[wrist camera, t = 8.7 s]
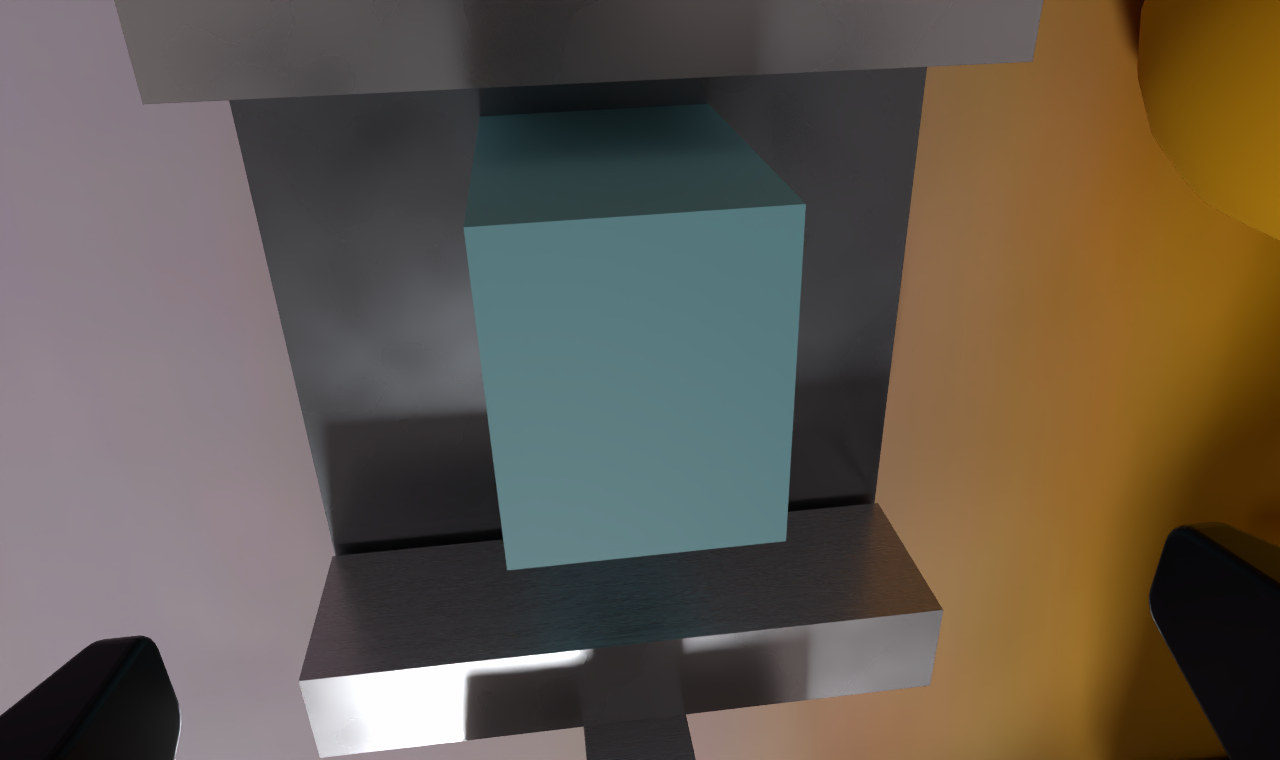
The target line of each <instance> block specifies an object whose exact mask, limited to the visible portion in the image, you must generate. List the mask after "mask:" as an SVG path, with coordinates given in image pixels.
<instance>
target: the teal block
mask: <svg viewBox="0 0 1280 760" xmlns="http://www.w3.org/2000/svg"><path fill="white" fill-rule="evenodd" d="M805 210H806V204H805V203H804V202H803V201H802V200H801V199H800V197H799V196H798V195H797V194H796V193H795V192H794V191H793V190H792V189H791V188H790V187H789V186H788V185H787V184H786V183H785V182H784V181H783V180H782V179H781V178H780V177H779V176H778V175H777V174H776V173H775V172H774V171H773V170H772V169H771V168H770V167H769V166H768V165H767V163H766V162H765V161H764V160H763V159H762V158H761V157H760V156H759V155H758V154H757V153H756V152H755V151H754V150H753V149H752V148H751V147H750V146H749V145H748V144H747V143H746V142H745V141H744V140H743V139H742V138H741V137H740V136H739V135H738V134H737V133H736V132H735V131H734V130H733V128H732V127H731V126H730V125H729V124H728V123H727V122H726V121H725V120H724V119H723V118H722V117H721V116H720V115H719V114H718V113H717V112H716V111H715V110H714V109H713V108H712V107H711V106H710V105H709V104H693V105H676V106H658V107H640V108H623V109H605V110H587V111H570V112H552V113H534V114H517V115H499V116H481V117H479V124H478V131H477V138H476V145H475V152H474V159H473V166H472V173H471V179H470V186H469V193H468V200H467V207H466V214H465V221H464V235H465V243H466V251H467V259H468V266H469V274H470V282H471V290H472V298H473V306H474V314H475V321H476V329H477V337H478V345H479V353H480V361H481V369H482V376H483V384H484V392H485V400H486V408H487V416H488V424H489V431H490V439H491V447H492V455H493V463H494V471H495V478H496V486H497V494H498V502H499V510H500V518H501V526H502V533H503V541H504V549H505V557H506V565H507V570H516V569H525V568H535V567H545V566H554V565H564V564H573V563H583V562H592V561H602V560H611V559H621V558H630V557H640V556H649V555H659V554H668V553H678V552H687V551H697V550H706V549H716V548H725V547H735V546H744V545H754V544H763V543H773V542H782V541H786V533H787V516H788V499H789V482H790V465H791V448H792V431H793V414H794V397H795V380H796V363H797V346H798V329H799V312H800V295H801V278H802V261H803V244H804V227H805Z"/></svg>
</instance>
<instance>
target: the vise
mask: <svg viewBox="0 0 1280 760" xmlns="http://www.w3.org/2000/svg"><path fill="white" fill-rule="evenodd" d="M114 2H115V5H116V9H117V13H118V16H119V20H120V23H121V27H122V31H123V34H124V38H125V41H126V45H127V49H128V52H129V56H130V59H131V63H132V67H133V70H134V74H135V77H136V81H137V85H138V88H139V92H140V95H141V99H142V103H143V104H159V103H180V102H201V101H222V100H229V101H230V105H231V110H232V114H233V118H234V123H235V127H236V131H237V135H238V140H239V144H240V148H241V153H242V157H243V161H244V165H245V170H246V174H247V178H248V183H249V187H250V191H251V195H252V200H253V204H254V208H255V213H256V217H257V221H258V225H259V230H260V234H261V238H262V243H263V247H264V251H265V255H266V260H267V264H268V268H269V273H270V277H271V281H272V286H273V290H274V294H275V298H276V303H277V307H278V311H279V316H280V320H281V324H282V328H283V333H284V337H285V341H286V346H287V350H288V354H289V358H290V363H291V367H292V371H293V376H294V380H295V384H296V388H297V393H298V397H299V401H300V406H301V410H302V414H303V418H304V423H305V427H306V431H307V436H308V440H309V444H310V448H311V453H312V457H313V461H314V466H315V470H316V474H317V478H318V483H319V487H320V491H321V496H322V500H323V504H324V509H325V513H326V517H327V521H328V526H329V530H330V534H331V539H332V543H333V547H334V551H335V556H340V555H350V554H360V553H371V552H381V551H391V550H401V549H412V548H422V547H432V546H442V545H453V544H463V543H473V542H483V541H494V540H503V533H502V526H501V518H500V510H499V502H498V494H497V486H496V478H495V471H494V463H493V455H492V447H491V439H490V431H489V424H488V416H487V408H486V400H485V392H484V384H483V376H482V369H481V361H480V353H479V345H478V337H477V329H476V321H475V314H474V306H473V298H472V290H471V282H470V274H469V266H468V259H467V251H466V243H465V235H464V221H465V214H466V207H467V200H468V193H469V186H470V179H471V173H472V166H473V159H474V152H475V145H476V138H477V131H478V124H479V117H481V116H499V115H517V114H534V113H552V112H570V111H587V110H605V109H623V108H640V107H658V106H676V105H693V104H709V105H710V106H711V107H712V108H713V109H714V110H715V111H716V112H717V113H718V114H719V115H720V116H721V117H722V118H723V119H724V120H725V121H726V122H727V123H728V124H729V125H730V126H731V127H732V128H733V130H734V131H735V132H736V133H737V134H738V135H739V136H740V137H741V138H742V139H743V140H744V141H745V142H746V143H747V144H748V145H749V146H750V147H751V148H752V149H753V150H754V151H755V152H756V153H757V154H758V155H759V156H760V157H761V158H762V159H763V160H764V161H765V162H766V163H767V165H768V166H769V167H770V168H771V169H772V170H773V171H774V172H775V173H776V174H777V175H778V176H779V177H780V178H781V179H782V180H783V181H784V182H785V183H786V184H787V185H788V186H789V187H790V188H791V189H792V190H793V191H794V192H795V193H796V194H797V195H798V196H799V197H800V199H801V200H802V201H803V202H804V203H805V204H806V210H805V227H804V244H803V261H802V278H801V295H800V312H799V329H798V346H797V363H796V380H795V397H794V414H793V431H792V448H791V465H790V482H789V499H788V512H791V511H802V510H812V509H822V508H832V507H843V506H853V505H863V504H874V501H875V493H876V485H877V476H878V468H879V460H880V451H881V443H882V435H883V427H884V418H885V410H886V402H887V393H888V385H889V377H890V368H891V360H892V352H893V344H894V335H895V327H896V319H897V310H898V302H899V294H900V286H901V277H902V269H903V261H904V252H905V244H906V236H907V228H908V219H909V211H910V203H911V194H912V186H913V178H914V169H915V161H916V153H917V145H918V136H919V128H920V120H921V111H922V103H923V95H924V87H925V78H926V70H927V67H930V66H951V65H972V64H993V63H1013V62H1033V56H1034V50H1035V45H1036V39H1037V33H1038V27H1039V21H1040V16H1041V10H1042V4H1043V0H114Z"/></svg>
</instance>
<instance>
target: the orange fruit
mask: <svg viewBox="0 0 1280 760" xmlns="http://www.w3.org/2000/svg"><path fill="white" fill-rule="evenodd" d="M1137 70H1138V80H1139V84H1140V88H1141V92H1142V96H1143V100H1144V104H1145V108H1146V112H1147V116H1148V120H1149V124H1150V128H1151V132H1152V133H1153V135H1154V137H1155V139H1156V141H1157V142H1158V144H1159V146H1160V147H1161V149H1162V150H1163V151H1164V153H1165V154H1166V156H1167V157H1168V158H1169V160H1170V161H1171V162H1172V164H1173V165H1174V166H1175V168H1176V169H1177V171H1178V172H1179V173H1180V175H1181V176H1182V177H1183V179H1184V180H1185V182H1186V183H1187V184H1188V186H1189V187H1190V188H1191V189H1192V190H1193V191H1194V192H1195V193H1196V194H1197V195H1198V196H1199V197H1200V198H1201V199H1202V200H1203V201H1204V202H1205V203H1206V204H1208V205H1209V206H1211V207H1213V208H1215V209H1216V210H1218V211H1220V212H1222V213H1224V214H1225V215H1227V216H1229V217H1231V218H1233V219H1235V220H1237V221H1240V222H1242V223H1244V224H1246V225H1248V226H1250V227H1252V228H1254V229H1256V230H1258V231H1261V232H1263V233H1265V234H1267V235H1269V236H1271V237H1273V238H1275V239H1277V240H1280V0H1145V1H1144V4H1143V6H1142V9H1141V20H1140V35H1139V50H1138V65H1137Z"/></svg>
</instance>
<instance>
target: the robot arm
mask: <svg viewBox="0 0 1280 760" xmlns="http://www.w3.org/2000/svg"><path fill="white" fill-rule="evenodd" d="M1149 606H1150V611H1151V615H1152V618H1153V620H1154V622H1155V624H1156V626H1157V628H1158V630H1159V632H1160V633H1161V635H1162V637H1163V639H1164V641H1165V643H1166V644H1167V646H1168V648H1169V650H1170V652H1171V653H1172V655H1173V657H1174V659H1175V661H1176V663H1177V664H1178V666H1179V668H1180V670H1181V672H1182V673H1183V675H1184V677H1185V679H1186V681H1187V682H1188V684H1189V686H1190V688H1191V690H1192V692H1193V693H1194V695H1195V697H1196V699H1197V701H1198V702H1199V704H1200V706H1201V708H1202V710H1203V712H1204V713H1205V715H1206V717H1207V719H1208V721H1209V722H1210V724H1211V726H1212V728H1213V730H1214V732H1215V733H1216V735H1217V737H1218V739H1219V741H1220V742H1221V744H1222V746H1223V748H1224V749H1225V751H1226V753H1227V755H1228V756H1229V758H1230V759H1228V760H1280V546H1277V545H1275V544H1273V543H1270V542H1268V541H1265V540H1263V539H1261V538H1258V537H1256V536H1254V535H1251V534H1249V533H1246V532H1244V531H1242V530H1239V529H1237V528H1235V527H1232V526H1230V525H1227V524H1224V523H1219V522H1209V523H1200V524H1190V525H1182V526H1179V527H1176V528H1174V529H1173V530H1172V532H1171V533H1170V534H1169V535H1168V536H1167V539H1166V541H1165V544H1164V547H1163V551H1162V554H1161V557H1160V560H1159V563H1158V566H1157V570H1156V573H1155V576H1154V579H1153V582H1152V585H1151V588H1150V592H1149ZM180 728H181V713H180V707H179V703H178V700H177V697H176V695H175V692H174V689H173V687H172V684H171V681H170V679H169V676H168V674H167V671H166V668H165V666H164V663H163V660H162V658H161V655H160V652H159V650H158V648H157V646H156V644H155V643H154V642H153V641H152V639H150V638H148V637H145V636H131V637H122V638H112V639H103V640H100V641H96V642H94V643H92V644H90V645H89V646H87V647H86V648H85V649H83V650H82V651H81V652H80V653H78V654H77V655H76V656H75V657H73V658H72V659H71V660H70V661H68V662H67V663H66V664H65V665H63V666H62V667H61V668H60V669H58V670H57V671H56V672H54V673H53V674H52V675H51V676H49V677H48V678H47V679H46V680H44V681H43V682H42V683H41V684H39V685H38V686H37V687H36V688H34V689H33V690H32V691H31V692H29V693H28V694H27V695H26V696H24V697H23V698H22V699H21V700H19V701H18V702H17V703H16V704H14V705H13V706H12V707H11V708H9V709H8V710H7V711H6V712H4V713H3V714H2V715H1V716H0V760H175V755H176V750H177V746H178V741H179V736H180Z"/></svg>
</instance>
